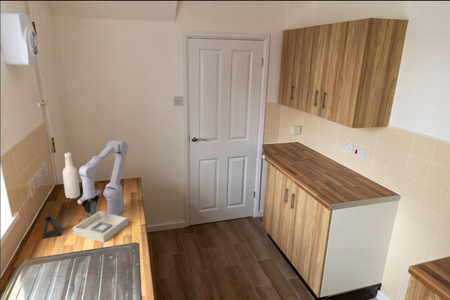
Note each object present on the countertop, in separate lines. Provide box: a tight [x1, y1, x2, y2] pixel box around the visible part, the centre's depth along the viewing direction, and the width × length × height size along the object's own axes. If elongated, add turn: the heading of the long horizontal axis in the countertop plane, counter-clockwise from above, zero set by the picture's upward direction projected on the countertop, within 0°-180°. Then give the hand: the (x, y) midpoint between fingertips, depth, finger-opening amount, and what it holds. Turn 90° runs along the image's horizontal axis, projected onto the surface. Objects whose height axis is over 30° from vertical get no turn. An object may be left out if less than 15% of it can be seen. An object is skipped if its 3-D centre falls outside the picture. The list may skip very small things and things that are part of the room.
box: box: [72, 211, 129, 243], centre depth 166 cm, size 20×20×4 cm
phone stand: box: [40, 211, 62, 240], centre depth 159 cm, size 9×6×12 cm, turn 115°
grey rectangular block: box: [84, 199, 98, 217], centre depth 167 cm, size 4×4×7 cm
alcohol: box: [62, 152, 81, 200], centre depth 201 cm, size 9×9×30 cm
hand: (91, 210), depth 167 cm, fingers closed on grey rectangular block, 4 cm apart
